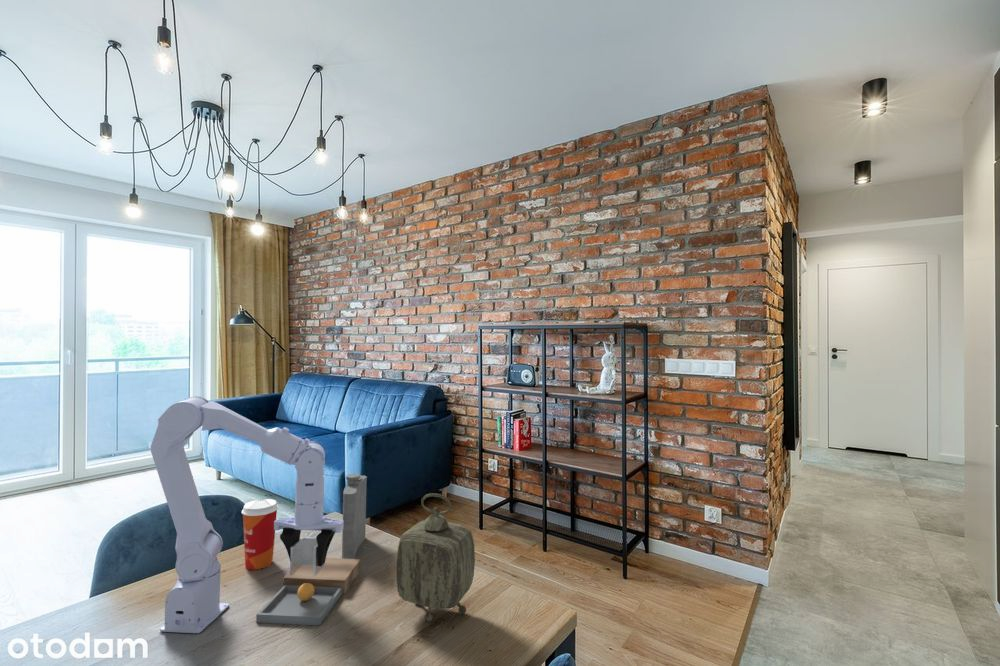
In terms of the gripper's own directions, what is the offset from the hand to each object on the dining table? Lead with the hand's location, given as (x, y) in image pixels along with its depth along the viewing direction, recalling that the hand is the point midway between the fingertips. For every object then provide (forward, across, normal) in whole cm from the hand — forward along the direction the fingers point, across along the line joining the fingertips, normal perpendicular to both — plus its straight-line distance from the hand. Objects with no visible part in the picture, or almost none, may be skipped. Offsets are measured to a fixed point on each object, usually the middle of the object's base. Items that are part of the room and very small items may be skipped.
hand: (308, 563), depth 102 cm
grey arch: (+1, 0, 0) cm, 1 cm away
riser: (+8, 0, -8) cm, 11 cm away
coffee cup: (+8, +19, -14) cm, 25 cm away
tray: (+8, 0, +3) cm, 8 cm away
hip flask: (+8, -1, -24) cm, 26 cm away
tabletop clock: (+8, -28, +4) cm, 29 cm away
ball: (+6, 0, +1) cm, 6 cm away
